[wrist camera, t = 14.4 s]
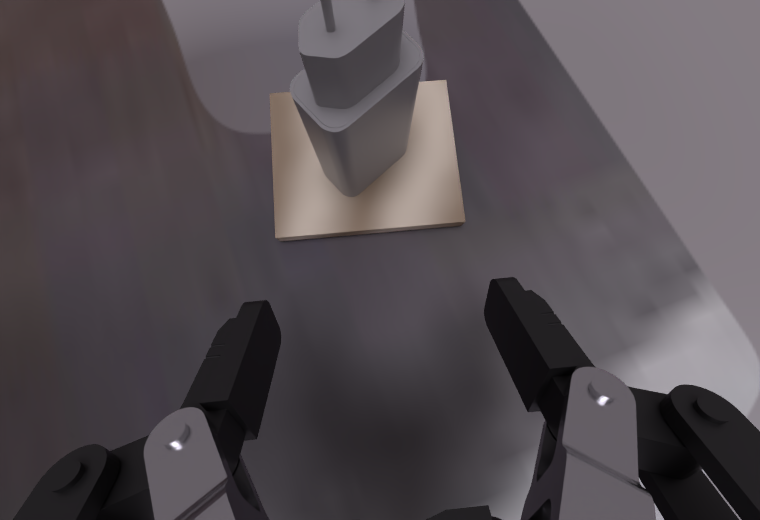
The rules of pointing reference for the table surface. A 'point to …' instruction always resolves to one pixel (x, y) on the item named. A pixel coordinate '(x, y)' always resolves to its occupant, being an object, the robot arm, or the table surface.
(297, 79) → the power adapter
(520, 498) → the table surface
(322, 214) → the birch board
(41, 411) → the table surface
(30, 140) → the table surface
